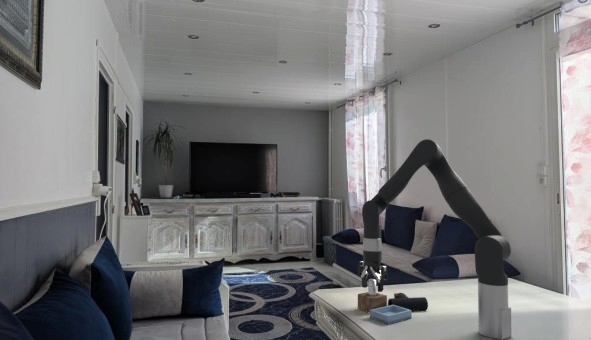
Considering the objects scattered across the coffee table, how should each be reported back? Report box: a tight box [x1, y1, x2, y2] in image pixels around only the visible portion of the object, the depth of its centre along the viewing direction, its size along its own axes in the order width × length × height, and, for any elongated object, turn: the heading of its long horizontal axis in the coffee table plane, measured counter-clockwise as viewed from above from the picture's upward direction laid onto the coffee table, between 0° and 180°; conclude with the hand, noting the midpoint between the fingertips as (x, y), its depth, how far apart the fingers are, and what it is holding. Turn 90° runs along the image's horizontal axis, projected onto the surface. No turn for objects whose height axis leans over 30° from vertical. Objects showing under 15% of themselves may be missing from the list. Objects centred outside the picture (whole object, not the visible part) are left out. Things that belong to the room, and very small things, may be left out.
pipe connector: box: [387, 292, 429, 311], centre depth 167 cm, size 12×5×15 cm
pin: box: [367, 278, 377, 297], centre depth 163 cm, size 3×3×12 cm
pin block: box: [357, 291, 388, 314], centre depth 163 cm, size 8×8×6 cm
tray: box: [369, 305, 413, 325], centre depth 152 cm, size 9×13×3 cm
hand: (372, 289), depth 163 cm, fingers open, 8 cm apart
